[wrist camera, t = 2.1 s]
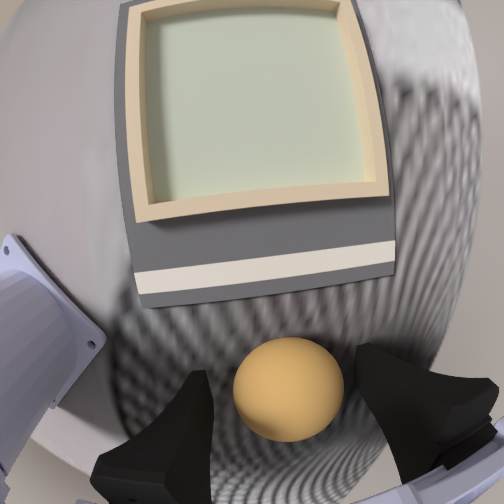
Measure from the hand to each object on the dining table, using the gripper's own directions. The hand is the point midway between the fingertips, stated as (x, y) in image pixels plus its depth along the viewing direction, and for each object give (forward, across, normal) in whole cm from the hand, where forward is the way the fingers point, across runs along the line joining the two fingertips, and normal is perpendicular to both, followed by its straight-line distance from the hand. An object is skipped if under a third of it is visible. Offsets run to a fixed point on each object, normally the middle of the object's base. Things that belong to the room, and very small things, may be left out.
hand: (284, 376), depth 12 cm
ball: (-1, 0, 0) cm, 1 cm away
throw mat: (+1, 0, -12) cm, 12 cm away
